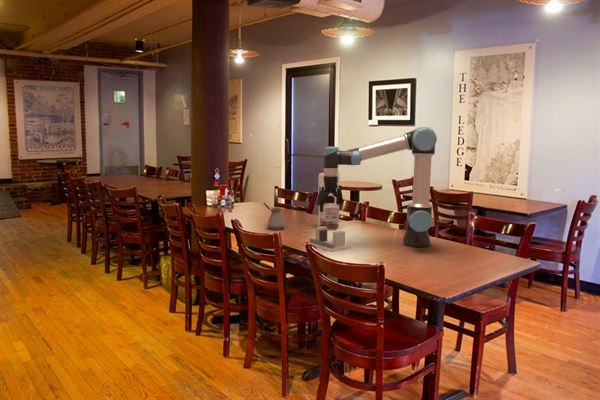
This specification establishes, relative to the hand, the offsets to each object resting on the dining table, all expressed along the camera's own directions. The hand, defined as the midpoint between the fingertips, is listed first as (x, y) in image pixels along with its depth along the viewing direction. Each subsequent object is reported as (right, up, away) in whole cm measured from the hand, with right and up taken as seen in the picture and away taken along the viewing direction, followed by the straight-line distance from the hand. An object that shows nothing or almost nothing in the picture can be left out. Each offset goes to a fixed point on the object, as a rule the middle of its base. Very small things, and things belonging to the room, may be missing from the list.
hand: (329, 216), depth 284 cm
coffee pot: (-34, -9, +54) cm, 64 cm away
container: (0, -2, 0) cm, 2 cm away
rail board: (0, -16, +2) cm, 16 cm away
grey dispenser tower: (+2, -9, +52) cm, 53 cm away
